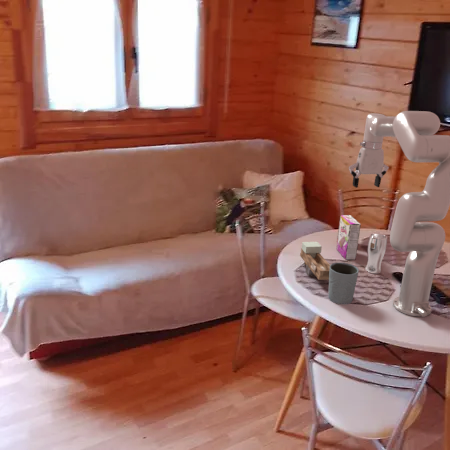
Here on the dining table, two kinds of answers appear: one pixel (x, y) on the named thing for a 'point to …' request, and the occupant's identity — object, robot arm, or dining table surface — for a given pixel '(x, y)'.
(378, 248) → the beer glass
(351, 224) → the candy bar box
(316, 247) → the block
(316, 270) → the brown long open box
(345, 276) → the grey green cup
